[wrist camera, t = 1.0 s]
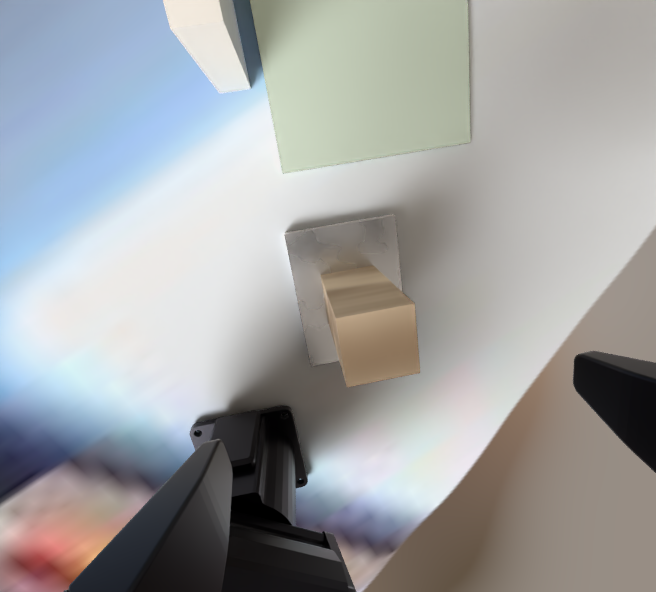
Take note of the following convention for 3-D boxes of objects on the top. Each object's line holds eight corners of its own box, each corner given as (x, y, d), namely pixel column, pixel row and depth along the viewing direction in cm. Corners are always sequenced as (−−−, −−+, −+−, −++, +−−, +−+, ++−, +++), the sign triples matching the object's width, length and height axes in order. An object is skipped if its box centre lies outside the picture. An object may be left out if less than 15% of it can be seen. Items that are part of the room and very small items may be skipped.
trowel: (402, 340, 21) (457, 416, 14) (309, 358, 21) (320, 445, 14) (390, 213, 19) (450, 229, 12) (284, 232, 19) (281, 259, 11)
